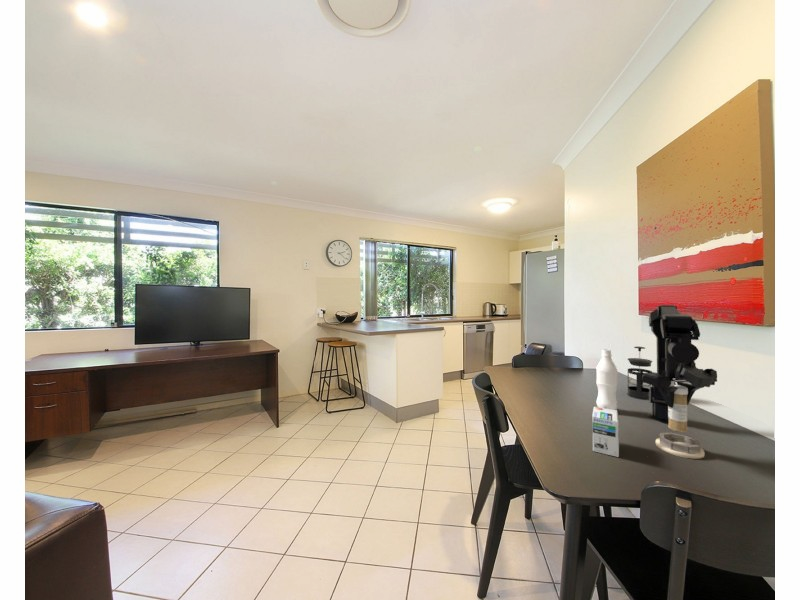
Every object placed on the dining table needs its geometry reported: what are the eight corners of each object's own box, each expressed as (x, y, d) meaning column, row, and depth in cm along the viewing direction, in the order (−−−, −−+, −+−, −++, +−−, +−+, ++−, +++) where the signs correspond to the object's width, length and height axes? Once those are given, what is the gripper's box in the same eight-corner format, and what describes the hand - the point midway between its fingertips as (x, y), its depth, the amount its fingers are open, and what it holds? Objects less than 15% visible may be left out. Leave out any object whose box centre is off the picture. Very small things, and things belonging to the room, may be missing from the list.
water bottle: (610, 407, 127) (610, 348, 126) (621, 414, 120) (621, 351, 119) (592, 406, 128) (592, 348, 127) (602, 413, 120) (602, 351, 120)
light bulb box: (619, 458, 88) (619, 421, 88) (592, 451, 92) (591, 416, 92) (618, 443, 97) (618, 409, 97) (593, 437, 101) (593, 405, 101)
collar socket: (646, 441, 98) (646, 432, 98) (677, 439, 99) (677, 430, 99) (681, 460, 87) (681, 449, 87) (715, 457, 88) (715, 447, 88)
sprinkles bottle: (669, 425, 96) (668, 383, 96) (688, 429, 93) (688, 386, 92) (666, 429, 93) (666, 386, 93) (687, 434, 90) (686, 389, 89)
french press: (624, 396, 140) (624, 347, 139) (626, 391, 147) (626, 344, 146) (657, 402, 132) (657, 349, 131) (658, 396, 139) (658, 346, 138)
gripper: (675, 363, 84) (676, 419, 84) (736, 360, 85) (736, 415, 85) (640, 355, 95) (640, 404, 95) (694, 353, 96) (694, 401, 97)
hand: (677, 406), depth 93 cm, fingers closed on sprinkles bottle, 4 cm apart
